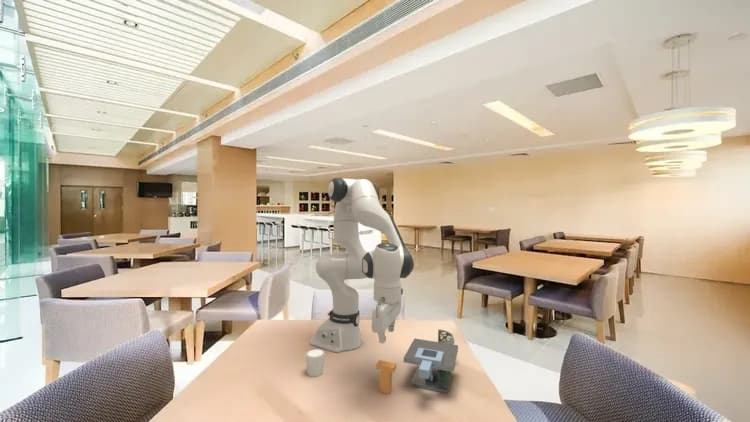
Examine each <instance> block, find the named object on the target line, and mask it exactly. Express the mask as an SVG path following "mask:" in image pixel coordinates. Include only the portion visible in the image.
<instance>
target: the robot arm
mask: <svg viewBox="0 0 750 422" xmlns="http://www.w3.org/2000/svg"><path fill="white" fill-rule="evenodd" d="M327 194H328V195H327V196H328V198H329V200H330V201H332V202H334V203H335V202H336V203H335V207H334V212H333V213H334V214H333V240H334V242H335V243H336V244H337V245H339V246H341V247H343V248H344V249H346V250H347V252H346V253H329V254H324V255H322V256H320V257H319V258H318V259H317V261H316V264H315V271H316V273H317V276H318V277H319V278H320V279H322V280H323V281H324V282H325V283H326V284H327V286H328V287H329V289H330V292H331V296H332V309H331V310H330V311H329V312H328V313H327V317H329V318H328V319H327V320H325V321H323V323H321V324H320V325H319V326H318V327H317V329H316V332H315V335H313V336H312V337H311V339H310V342H309V344H310V345H311V346H314V347H317V348H319V349H322V350H327V351H330V352H332V353H340V352H344V351H351V350H352V351H353V350H355V349H358V348H359V347H361V345H362V344H363V342H362V341H363V340H362V338H361V332H360V319H361V318H360V310H359V305H360V303H359V302H360V301H359V297H360V295H359V292H358V291H357V290H356V289H355V288H354V287H352V286H350V285H348V284H346V283H345V281H346V280H363V279H374V282H373V300H374V301H375V302H376V304H375V305H374V306H373V309H372V312H371V313H372V315H371V331H372V332H373V333H375V334H377V336H378V343H380V344H385V343H386V339H387V336H386V330H387V331H388V332H389V333H393V332H394V331H395V325H396V320H397V319H396V318H397V317H398V316H399V315H400V313H401V308H402V295H403V294H404V288H403V287H402V284H401V279H406V278H408V277H409V275H411V273H412V272H413V270H414V266H415V263H414V258H413V255H412V254H411V253H410V251H409V249H408V248H407V246H406V244H405V242H404V240H403V237H402V236H401V233H400V231H399V229H398V227H397V225H396V223H395V221H394V218H393V216H391V214H389V213H388V212H386V210H385V209H384V208H383V207H382V205H381V203H380V201H379V195H378V188H377V185H376V184H375V183H373V182H371V181H370V180H369V179H366V178H360V179H358V178H345V177H344V178H342V177H334V178H332V179H331V180H330V182H329V184H328V188H327ZM359 224H360V225H361V226H364V227H366V228H371V229H374V230H376V231H379V232H381V233H382V234H383V235H384V236H385V237H386V240H387V242H383V243H382V242H381V243H378V244H376V245H375V248H374V249H373V250H370V251H366V250H365V249H364V247H363V245H362V243H361V239H360V235H359V234H360V232H359Z"/></svg>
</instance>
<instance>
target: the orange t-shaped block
mask: <svg viewBox="0 0 750 422" xmlns="http://www.w3.org/2000/svg"><path fill="white" fill-rule="evenodd" d="M375 369H376V370H380V373H379V375H380V376H379V377H380V379H379V380H380V381H379V383H380V385H379V387H380V388H379V390H380V392H381V393H386V394H390V392H391V391H392V389H393V373H395V371H396V369H397V363H395V362H391V361H388V360H387V361H385V360H380V359H379V360H378V361H377V363H376V364H375Z"/></svg>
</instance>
